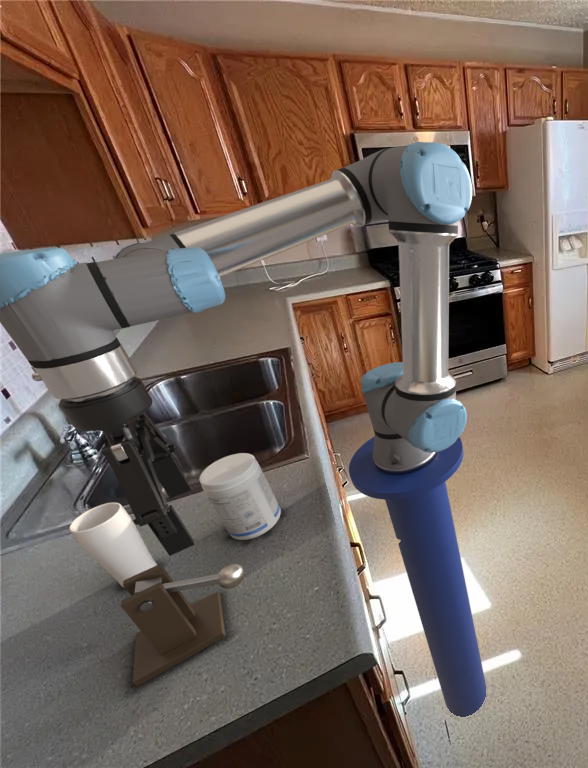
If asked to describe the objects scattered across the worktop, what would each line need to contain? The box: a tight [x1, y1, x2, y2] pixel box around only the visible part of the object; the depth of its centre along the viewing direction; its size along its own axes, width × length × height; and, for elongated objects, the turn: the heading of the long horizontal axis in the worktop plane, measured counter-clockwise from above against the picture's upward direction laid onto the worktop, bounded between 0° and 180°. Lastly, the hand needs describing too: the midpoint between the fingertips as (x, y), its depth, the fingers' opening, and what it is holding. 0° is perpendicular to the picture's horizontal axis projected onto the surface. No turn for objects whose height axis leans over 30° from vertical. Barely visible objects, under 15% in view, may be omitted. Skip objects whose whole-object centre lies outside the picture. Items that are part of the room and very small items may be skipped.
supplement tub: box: [198, 452, 282, 541], centre depth 81 cm, size 10×10×15 cm
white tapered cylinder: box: [68, 501, 158, 589], centre depth 72 cm, size 7×7×15 cm
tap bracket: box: [119, 563, 226, 688], centre depth 61 cm, size 11×9×13 cm
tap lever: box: [134, 563, 246, 594], centre depth 62 cm, size 13×4×4 cm, turn 127°
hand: (181, 518), depth 59 cm, fingers open, 13 cm apart
